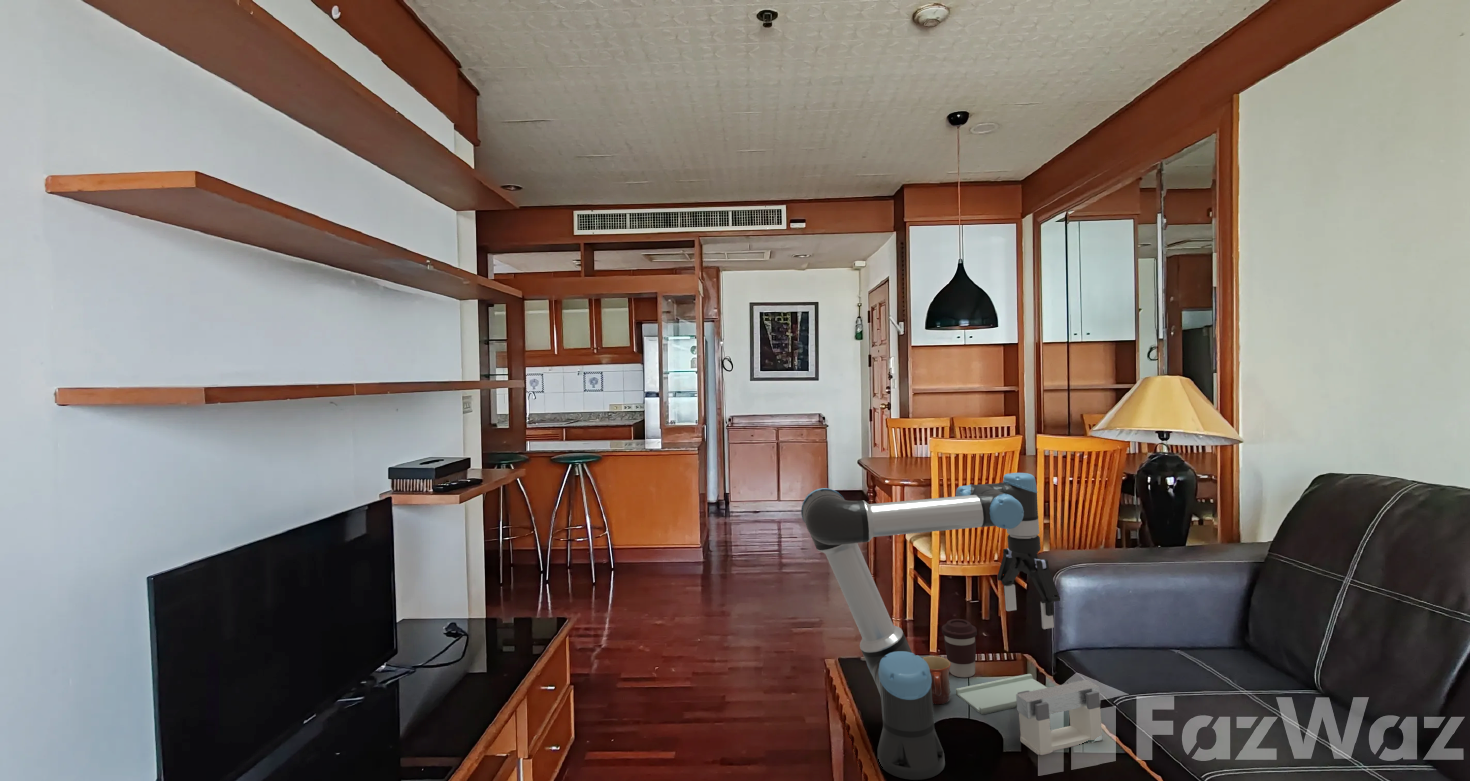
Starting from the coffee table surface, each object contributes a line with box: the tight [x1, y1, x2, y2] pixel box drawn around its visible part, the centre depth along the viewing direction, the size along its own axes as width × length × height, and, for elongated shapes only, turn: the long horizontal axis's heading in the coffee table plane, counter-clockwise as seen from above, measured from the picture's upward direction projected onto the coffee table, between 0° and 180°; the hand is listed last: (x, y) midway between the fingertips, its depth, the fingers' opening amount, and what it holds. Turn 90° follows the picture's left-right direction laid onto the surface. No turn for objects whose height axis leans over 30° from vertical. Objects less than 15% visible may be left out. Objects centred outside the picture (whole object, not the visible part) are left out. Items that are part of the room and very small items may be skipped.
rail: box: [1016, 679, 1101, 719], centre depth 157 cm, size 20×4×4 cm, turn 104°
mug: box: [922, 655, 951, 706], centre depth 179 cm, size 12×9×10 cm
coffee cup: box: [941, 618, 978, 678], centre depth 196 cm, size 10×10×15 cm
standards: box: [1018, 679, 1103, 756], centre depth 157 cm, size 18×7×12 cm, turn 104°
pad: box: [955, 673, 1048, 715], centre depth 180 cm, size 24×12×2 cm, turn 104°
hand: (1028, 618), depth 166 cm, fingers open, 13 cm apart
